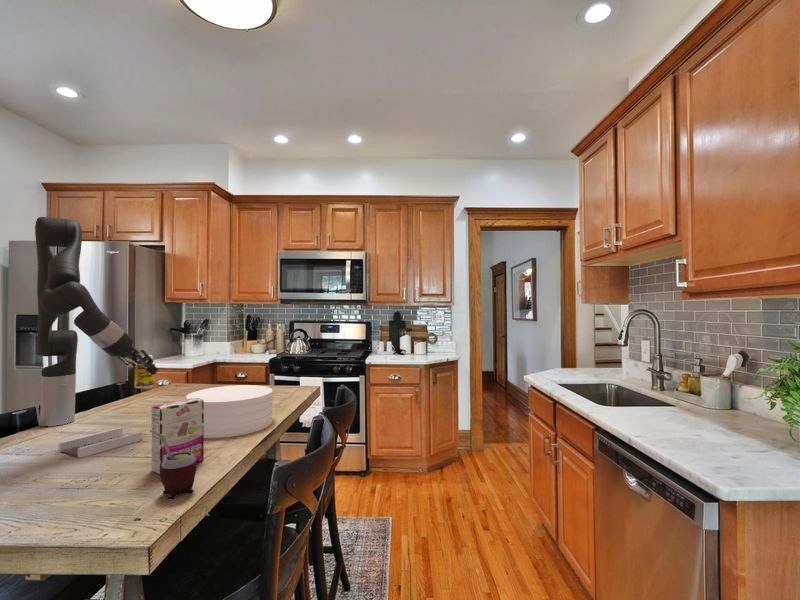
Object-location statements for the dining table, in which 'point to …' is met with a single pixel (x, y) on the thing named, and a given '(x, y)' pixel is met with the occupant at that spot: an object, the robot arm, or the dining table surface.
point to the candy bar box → (178, 430)
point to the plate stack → (235, 409)
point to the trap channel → (74, 445)
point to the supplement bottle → (143, 376)
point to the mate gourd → (177, 471)
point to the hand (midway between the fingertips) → (150, 371)
